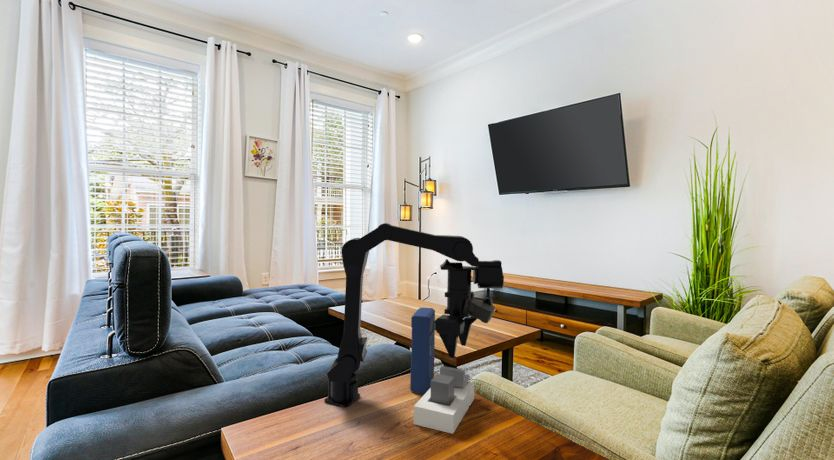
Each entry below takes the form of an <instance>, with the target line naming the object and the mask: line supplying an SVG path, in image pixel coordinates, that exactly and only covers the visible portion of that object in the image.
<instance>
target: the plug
mask: <svg viewBox="0 0 834 460" xmlns="http://www.w3.org/2000/svg"><path fill="white" fill-rule="evenodd" d="M430 388H431V400H430V402H433V403H437V404H442V405H446V406H450V404H451V402H452V401H453V400H454V377H452V376H446V375H441V374H440V373H437V374H435V375H434V378H433V379H432V380H431V387H430Z"/></svg>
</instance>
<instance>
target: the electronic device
mask: <svg viewBox="0 0 834 460" xmlns="http://www.w3.org/2000/svg"><path fill="white" fill-rule="evenodd" d="M435 318H436V310H435V309H434V308H432V307H419V308H418V309H417V310H415V312H414V313H413V314H412V316H411V322H410V324H411V325H410V327H411V353H410V355H411V359H410V360H411V364H410V380H409V381H410V387H409V388H410V392H412V393H413V394H422V395H424V394H425V393H426V392H427V391H428V390H429V389H430V388H431V380H432V379H433V378H434V377H435V348H436V346H435V342H436V341H435V338H436V337H435V335H436V334H435V332H436V331H435V330H434V321H435V320H436V319H435Z"/></svg>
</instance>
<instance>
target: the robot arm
mask: <svg viewBox="0 0 834 460" xmlns="http://www.w3.org/2000/svg"><path fill="white" fill-rule="evenodd" d="M385 241H390V242H395V243H399V244H403V245H408V246H412V247H416V248H420V249H421V248H422V249H426V250H430V251H434V252H436V253H439V254H440V255H442V256H444V257H447V258H446V259H445V261H444V262H442V264H440V265H439V268H440V270H441V271H447V291H446V292H444V298H446V308H445V309H444V311H443V312H444V314H442V315H440V316H438V318H436V319H435V321H434V330H435V332H436V333H438V335H439V337H440V339H441V340H442V341H441V342H442V343H443V346H444V347H445V350H446V352H447V354H448V357H449V358H451V359H454V358H455V357H456V353H457V346H458V341H459V342H460V345H461V346H462V347H463V346H464V347H466V345H467V341H468V338H469V334H470V331H471V327H472V324H473V323H475V321H477V320H480V321H481V322H482V323H484V324H488V323H489V322H490V321H491V319H492V318H493V314H494V312H495V310H496V306H495V305H494V302H493V299H492V298H491V297H486V298H484V299H483V300H482V299H477V298H475V292H474V291H473V290H472V281H473V285H476V286H477V288H478V289H498V290H499V289H503V287H504V283H505V281H504V279H505V278H504V277H505V275H504V273H503V267H502V265H503V264H502V261H501V260H499V259H495V260H479V257H477V256H476V254H475V253H474V247H473V244H472V242H471V240H470V239H468V238H466V237H464V236H461V235H449V234H448V235H443V234H442V235H441V234H433V233H432V234H431V233H427V232H423V231H418V230H415V229H410V228H404V227H401V226H398V225H393V224H390V223H388V222H386V223H381V224H379V225H378V226H377V227H376V228H375V229H373V230H371V231H370V232H368V233H367V234H365V235H363V236H361V237H355V238H352V239H350V240H347V241H346V242H344V244H342V247H341V258H342V259H341V260H342V267H343V269H344V273H345V295H344V298H345V299H344V315H343V316H344V317H343V334H342V339H341V341H340V345H339V347H338V348H339V350H338V353H337V357H336V358H335V359H334V361H333V363H332V364H331V366H330V367H329V369H328V371H327V373H326V375H327V378H328V382H327V383H328V386H327V387H328V390H327V391H328V393H327V394H328V396H327V397H325V398H324V402H325V403H328V404H332V405H336V406H339V407H344V408H346V407H349V406H350V405H351V404H352V403H353V402H355V401H356V400H358V399H359V398H360V397H361V394H360V393H359V381H358V379H357V378H358V377H357V376H358V374H357V373H355V372H357V371H358V370H359V369H360V367H361V364H362V363H363V362H364V361H365V358H366V355H367V353H368V350H367V341H368V336H366V337H365V336H364V337H363V336H362V332H361V326H362V324H361V321H362V306H363V305H362V302H363V280H364V279H363V278H364V273H365V269H366V266H367V262H368V259H369V258H368V257H369V253H370V250H373V249H374V248H375V247H377V246H379V245H380V244H382V243H384V242H385ZM448 258H449V259H451V260H454V261H456V262H453V261H452V262H450V260H449V259H448ZM463 262H465V263H466V264H469V265H467V266H464V264H463Z"/></svg>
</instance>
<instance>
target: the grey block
mask: <svg viewBox="0 0 834 460" xmlns="http://www.w3.org/2000/svg"><path fill="white" fill-rule="evenodd" d="M439 374H441V375H446V376H452V377H454V387H459V388H464V387H465V385H466V384H467V383H468V382H470V380H471V377H470V376H471V375H469V374H466V370H465V369H461V368H456V367H450V366H445V365H444V366H443V365H441V366H440V367H439Z"/></svg>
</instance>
